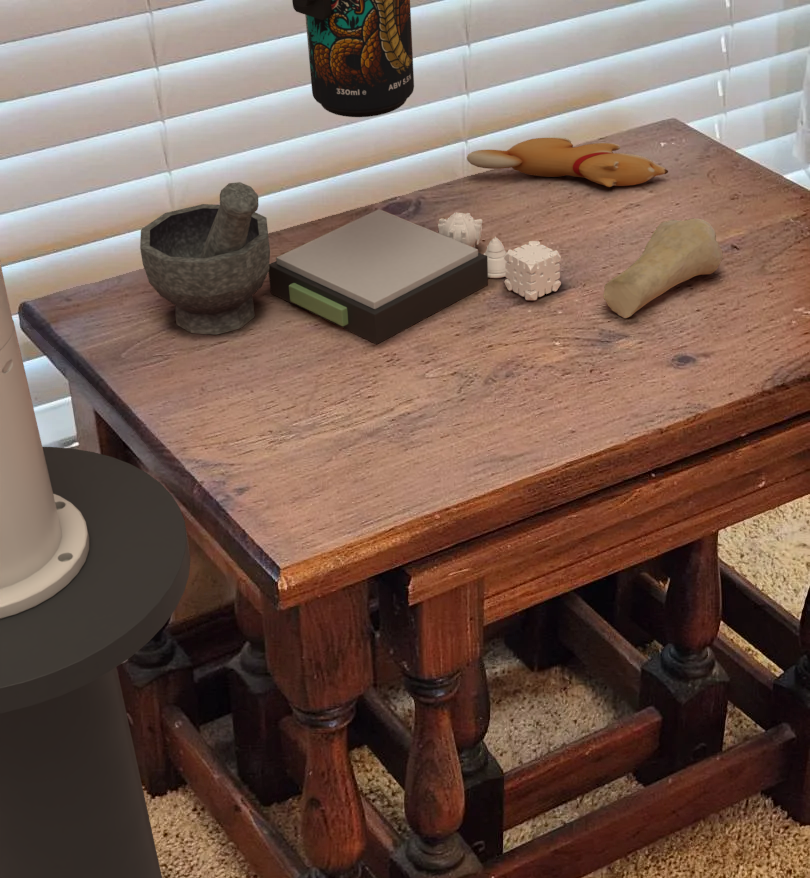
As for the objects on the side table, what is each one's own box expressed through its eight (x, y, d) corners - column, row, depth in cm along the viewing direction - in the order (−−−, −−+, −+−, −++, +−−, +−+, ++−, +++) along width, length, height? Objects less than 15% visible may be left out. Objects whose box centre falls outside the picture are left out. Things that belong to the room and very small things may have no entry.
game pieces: (562, 290, 119) (562, 252, 117) (529, 304, 118) (529, 266, 116) (463, 238, 127) (462, 201, 125) (431, 250, 126) (430, 214, 124)
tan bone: (659, 249, 124) (663, 193, 121) (734, 265, 121) (740, 208, 118) (600, 312, 116) (603, 254, 113) (679, 331, 114) (684, 272, 111)
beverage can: (367, 129, 103) (355, -56, 96) (292, 106, 107) (274, -73, 100) (435, 95, 108) (428, -85, 100) (360, 74, 111) (348, -101, 104)
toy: (661, 176, 137) (668, 197, 132) (465, 168, 137) (465, 189, 132) (666, 139, 135) (673, 159, 131) (467, 131, 135) (467, 151, 131)
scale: (371, 347, 114) (368, 310, 112) (265, 296, 121) (261, 260, 119) (488, 285, 121) (487, 248, 119) (381, 239, 128) (379, 204, 126)
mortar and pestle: (128, 315, 119) (102, 169, 112) (224, 272, 124) (206, 129, 117) (216, 367, 113) (195, 214, 105) (315, 319, 118) (301, 171, 110)
